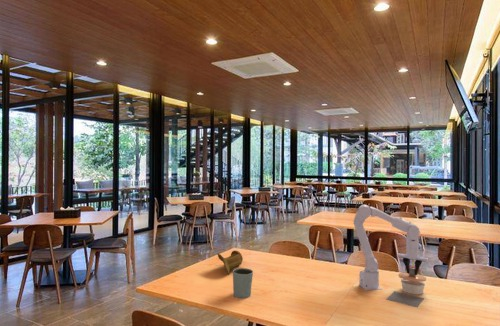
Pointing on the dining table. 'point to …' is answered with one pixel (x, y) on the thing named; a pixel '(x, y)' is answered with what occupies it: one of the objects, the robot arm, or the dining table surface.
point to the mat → (405, 299)
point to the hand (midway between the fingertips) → (412, 273)
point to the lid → (412, 276)
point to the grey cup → (242, 282)
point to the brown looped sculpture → (231, 260)
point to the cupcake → (414, 267)
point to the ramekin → (412, 286)
